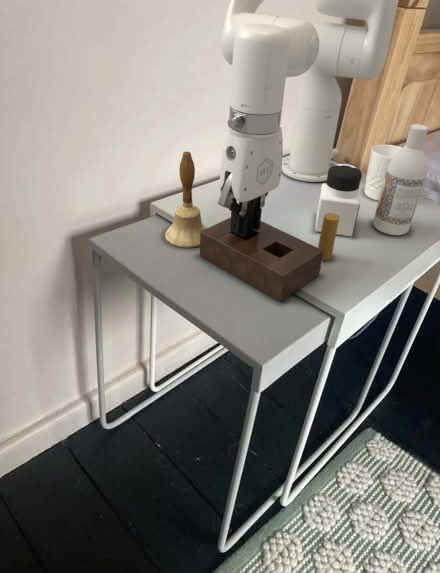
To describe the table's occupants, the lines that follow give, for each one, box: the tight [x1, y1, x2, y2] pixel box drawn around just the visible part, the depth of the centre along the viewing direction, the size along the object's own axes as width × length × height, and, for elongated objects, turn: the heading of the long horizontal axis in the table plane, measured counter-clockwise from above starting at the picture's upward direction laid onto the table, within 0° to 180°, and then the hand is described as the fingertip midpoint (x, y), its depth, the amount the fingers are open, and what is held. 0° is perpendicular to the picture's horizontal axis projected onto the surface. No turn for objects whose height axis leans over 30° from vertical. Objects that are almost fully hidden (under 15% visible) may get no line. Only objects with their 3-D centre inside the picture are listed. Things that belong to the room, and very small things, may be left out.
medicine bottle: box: [314, 163, 363, 237], centre depth 94 cm, size 7×7×12 cm
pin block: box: [199, 216, 324, 303], centre depth 83 cm, size 18×11×5 cm, turn 47°
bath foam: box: [372, 123, 429, 236], centre depth 92 cm, size 7×7×20 cm
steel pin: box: [236, 199, 255, 241], centre depth 82 cm, size 3×3×8 cm
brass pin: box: [317, 213, 340, 262], centre depth 86 cm, size 3×3×8 cm
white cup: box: [363, 144, 403, 201], centre depth 107 cm, size 8×8×10 cm
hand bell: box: [164, 151, 207, 249], centre depth 87 cm, size 8×8×16 cm
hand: (244, 229), depth 83 cm, fingers closed on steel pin, 2 cm apart
